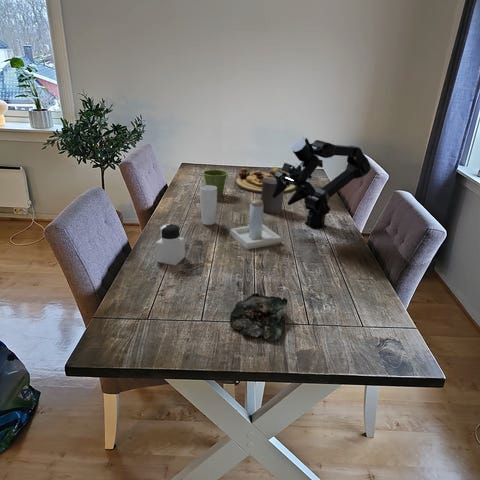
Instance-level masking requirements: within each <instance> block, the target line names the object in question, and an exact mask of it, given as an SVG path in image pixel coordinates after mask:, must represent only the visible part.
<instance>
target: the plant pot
mask: <svg viewBox="0 0 480 480" xmlns="http://www.w3.org/2000/svg"><path fill="white" fill-rule="evenodd" d="M228 174H229V173H228V171H226V170H222V169H207V170H204V171H203V172H202V175H204V177H203V178H204V179H205V185H212V186H216V187H217V198H221V197H222V196H223V194H224V189H225V184H226V179H227V175H228Z"/></svg>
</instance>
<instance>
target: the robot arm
mask: <svg viewBox="0 0 480 480" xmlns="http://www.w3.org/2000/svg"><path fill="white" fill-rule="evenodd" d="M290 149H291V151H292V153H293V154H294V155H295V157H296V158H297V159H298V161H300V163H299V164H295V165H293V164H290V163H286V162H284V163H283V165H282V167H281V169H280V171H277V172H276V173H275V175H274V176H275V179H276V181H277V184H276V187H275V190H274V193H273V196H272V197H273V198H275V197H277V196H278V195H279V194H280V193H281V192H283V191H284V190H285V189H286V188H287V187H286V186H288V185H289V184H292V185H294V186H296V189H295V192H293V194H292V196H291V197H290V198H289V200H288V201H287V203H286V204H287V205H288V206H290V205H293V204H295V203H297V202H299V201H302V200H303V199H304V206H305V209H307V211H308V213H307V217H306V221H305V222H304V224H305V225H307V226H308V227H310V228H312V229H315V230H316V229H321V228H326V227H327V224H325V222H326V221H325V220H326V215H328V214H330V213H329V212H330V211H331V207H330V206H329V202H330V198H332V197H333V196H334V195H335V194H337V193H338V192H339V191H340V190H342V189H343V188H344V187H345V186H346V185H348V184H349V183H350V182H351V181H353V180H356V179H359V178H362V177H364V176H366V175H368V174H369V172H370V171H371V168H372V167H371V164H370V162H369V158H368V157H366V155H365V154H364V153H363V151H362V149H361V148H360V147H359V146H354V145H341V144H333V143H331V142H327V141H324V140H320V139H316V140H314V142H312V143H310V142H309V139H308V137H302V138H301V139H298V140H296V141H295V142H293V143H292V145H291V147H290ZM334 156H341V157H346V162H347V164H346V167H345V170H344V171H342V172H341V173H340V174H338V175H337V176H336V177H334V178H333V179H332V180H331V181H330V182H328V183H327V184H325V185H324V186H323V187H321V188H319V187H318V186H315V187H314V186H313V185H312V183H311V182H309V181H308V179H309V180H311V179H312V178H313V176H312V174H313V173H314V172H315V170H316V169H318V168H323V167H324V164H323V159H321V158H324V159H329V158H332V157H334ZM319 157H320V158H319ZM282 171H284V172H286V173H287V175H288V176H287V175H286V173H284V172H282Z"/></svg>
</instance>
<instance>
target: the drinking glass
mask: <svg viewBox="0 0 480 480" xmlns="http://www.w3.org/2000/svg"><path fill="white" fill-rule="evenodd" d="M199 202H200V204H199V205H200V212H201V213H200V214H201V224H203V225H204V226H212V225H214V224H215V223H216V211H217V203H218V197H217V187H216V186H212V185H206V184H205V185H201V186H200V187H199Z"/></svg>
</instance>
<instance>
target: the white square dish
mask: <svg viewBox="0 0 480 480" xmlns="http://www.w3.org/2000/svg"><path fill="white" fill-rule="evenodd" d="M229 236H230V237H231V238H233V239H234V240H235V241H236V242H237V243H238V244H239V245H241V247H243V248H244V249H246V251H247V250H254V249H257V248H258V249H259V248H264V247H268V246H275V245H280V244H282V243H281V242H282V237H281V236H280V235H279V234H277V233H276V232H274V231H273V230H271V229H270V228H269V227H268V226H266V225H264V224H263V223H262V238H261V239H259V240H252V239H250V238H249V225H247V226H241V227H235V228H234V227H233V228H230V229H229Z"/></svg>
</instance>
